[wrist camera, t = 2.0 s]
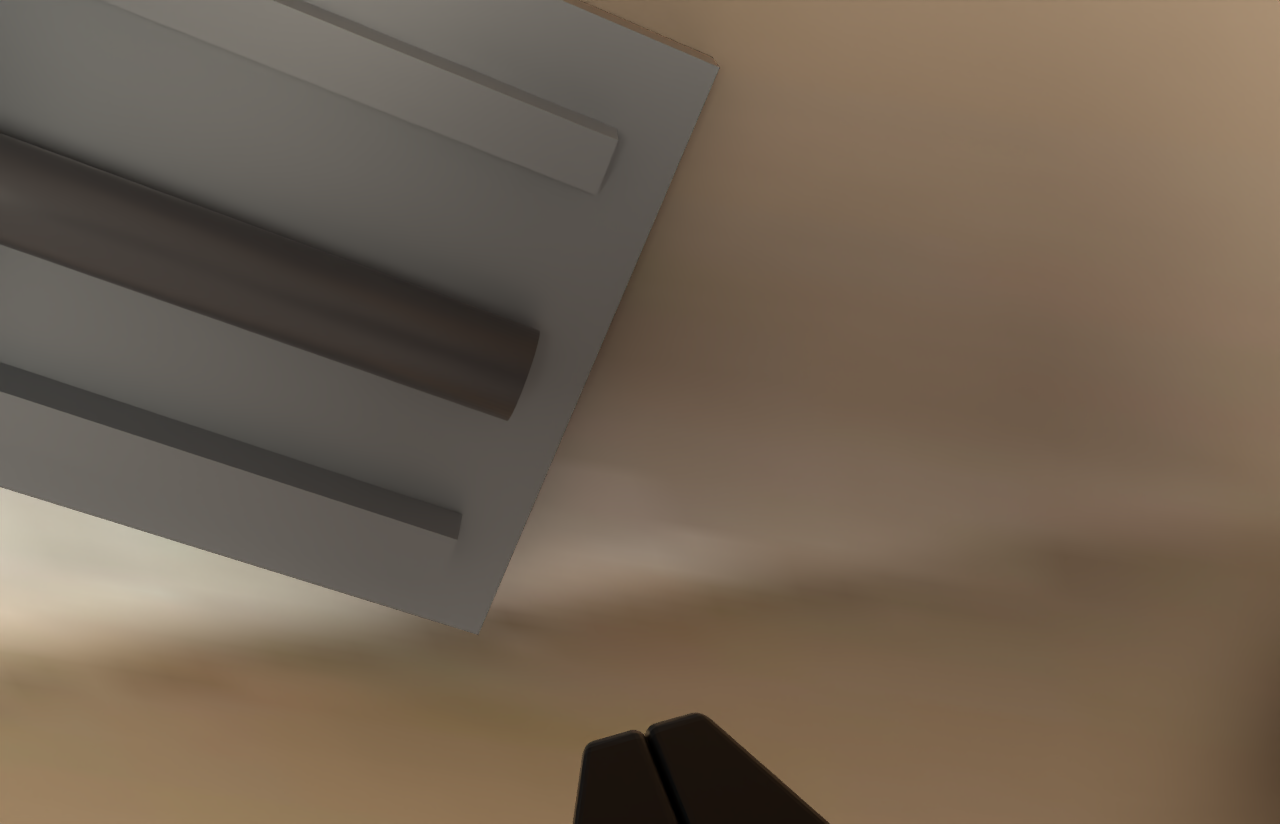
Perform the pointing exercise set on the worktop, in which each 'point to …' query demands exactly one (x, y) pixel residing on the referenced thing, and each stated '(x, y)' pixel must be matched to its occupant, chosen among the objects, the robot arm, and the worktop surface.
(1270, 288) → the worktop surface
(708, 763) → the robot arm
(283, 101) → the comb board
